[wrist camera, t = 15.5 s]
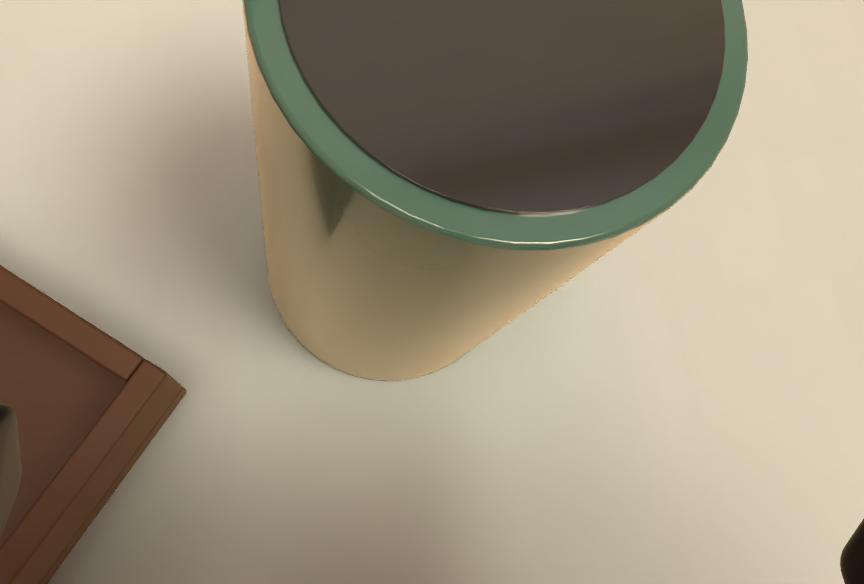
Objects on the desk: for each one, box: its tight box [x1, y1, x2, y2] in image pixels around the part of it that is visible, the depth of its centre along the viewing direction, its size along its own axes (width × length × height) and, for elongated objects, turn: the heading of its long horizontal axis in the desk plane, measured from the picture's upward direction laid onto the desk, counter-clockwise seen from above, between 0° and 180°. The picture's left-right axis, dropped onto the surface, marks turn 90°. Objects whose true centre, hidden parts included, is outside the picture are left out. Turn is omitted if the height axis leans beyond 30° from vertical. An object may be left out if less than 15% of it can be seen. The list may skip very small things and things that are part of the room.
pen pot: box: [242, 0, 748, 381], centre depth 15 cm, size 6×6×12 cm
